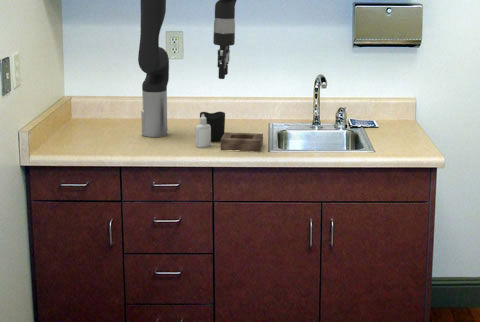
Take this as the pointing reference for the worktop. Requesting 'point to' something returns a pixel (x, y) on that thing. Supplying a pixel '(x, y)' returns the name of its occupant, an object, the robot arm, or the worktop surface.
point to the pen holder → (215, 124)
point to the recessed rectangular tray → (242, 141)
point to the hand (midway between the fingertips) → (223, 76)
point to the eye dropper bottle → (203, 134)
